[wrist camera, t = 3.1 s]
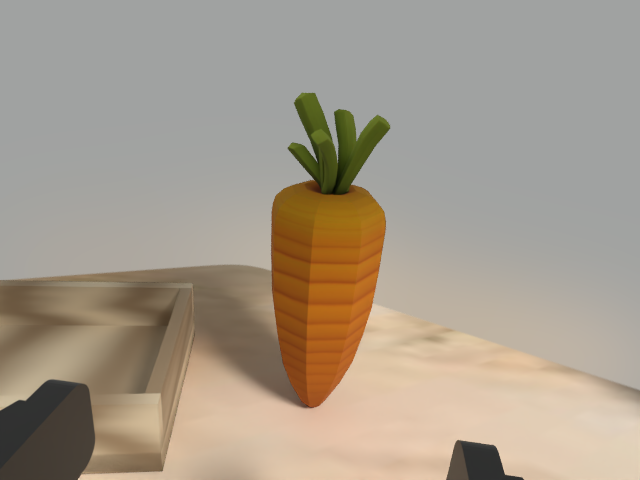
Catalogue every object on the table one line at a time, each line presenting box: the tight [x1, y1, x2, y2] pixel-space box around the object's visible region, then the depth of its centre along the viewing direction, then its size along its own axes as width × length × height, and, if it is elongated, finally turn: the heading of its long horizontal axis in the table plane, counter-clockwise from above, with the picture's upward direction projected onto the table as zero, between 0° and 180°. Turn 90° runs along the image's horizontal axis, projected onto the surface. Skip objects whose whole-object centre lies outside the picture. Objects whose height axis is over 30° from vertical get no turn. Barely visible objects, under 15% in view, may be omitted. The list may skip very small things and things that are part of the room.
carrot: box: [271, 93, 390, 408], centre depth 21 cm, size 5×5×15 cm
